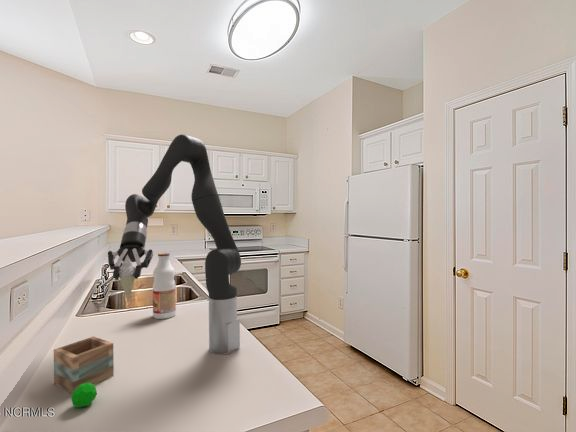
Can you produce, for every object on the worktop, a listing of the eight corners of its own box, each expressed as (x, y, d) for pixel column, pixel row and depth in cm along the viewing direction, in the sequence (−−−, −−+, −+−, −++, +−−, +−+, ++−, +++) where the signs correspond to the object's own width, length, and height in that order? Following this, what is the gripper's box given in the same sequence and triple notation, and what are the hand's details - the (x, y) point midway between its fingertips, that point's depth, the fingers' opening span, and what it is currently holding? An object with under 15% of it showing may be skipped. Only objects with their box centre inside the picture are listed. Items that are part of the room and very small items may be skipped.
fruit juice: (170, 319, 130) (169, 254, 130) (148, 319, 130) (148, 254, 130) (179, 312, 139) (178, 251, 139) (159, 312, 139) (158, 252, 140)
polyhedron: (88, 411, 68) (88, 390, 68) (66, 412, 68) (65, 391, 68) (101, 398, 73) (100, 378, 73) (79, 399, 73) (79, 379, 73)
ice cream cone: (118, 303, 93) (118, 255, 94) (119, 299, 98) (118, 253, 98) (136, 301, 96) (136, 254, 96) (136, 297, 100) (136, 252, 100)
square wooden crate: (113, 375, 84) (113, 343, 84) (73, 394, 75) (73, 357, 75) (93, 367, 88) (93, 336, 89) (53, 383, 80) (53, 349, 80)
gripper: (109, 230, 102) (97, 272, 91) (154, 229, 106) (149, 269, 94) (114, 245, 107) (103, 286, 96) (157, 243, 111) (152, 283, 100)
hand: (126, 277), depth 95 cm, fingers closed on ice cream cone, 5 cm apart
